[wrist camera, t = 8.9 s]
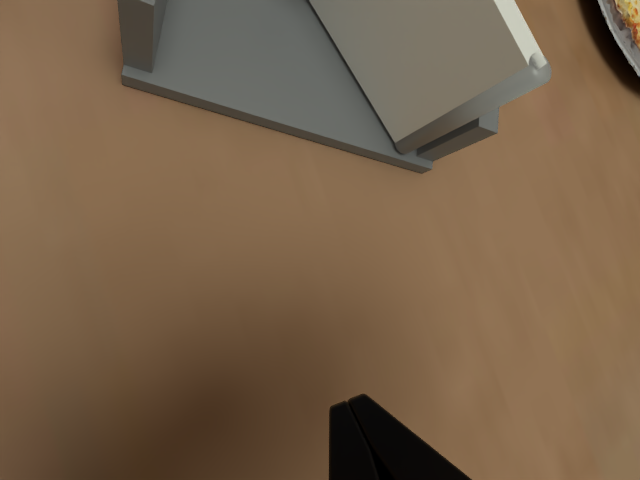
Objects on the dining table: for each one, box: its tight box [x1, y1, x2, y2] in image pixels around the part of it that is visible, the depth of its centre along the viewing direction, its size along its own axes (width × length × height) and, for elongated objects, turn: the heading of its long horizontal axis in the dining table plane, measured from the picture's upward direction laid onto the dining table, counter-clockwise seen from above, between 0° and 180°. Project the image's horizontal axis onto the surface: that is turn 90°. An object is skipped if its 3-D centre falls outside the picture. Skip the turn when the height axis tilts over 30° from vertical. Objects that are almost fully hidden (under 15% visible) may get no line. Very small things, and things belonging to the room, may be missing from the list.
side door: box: [309, 0, 551, 154], centre depth 19 cm, size 13×2×9 cm, turn 35°
